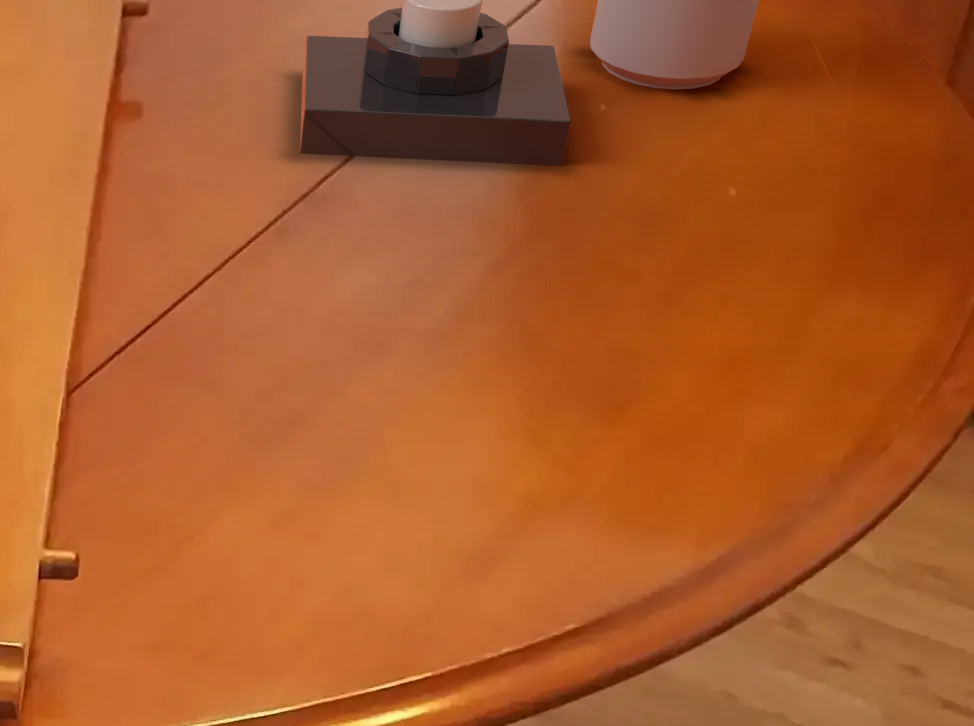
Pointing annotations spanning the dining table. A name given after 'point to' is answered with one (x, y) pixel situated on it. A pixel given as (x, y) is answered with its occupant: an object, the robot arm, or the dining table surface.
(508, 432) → the dining table surface
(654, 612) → the dining table surface
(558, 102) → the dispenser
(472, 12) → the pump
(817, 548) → the dining table surface
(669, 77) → the can
